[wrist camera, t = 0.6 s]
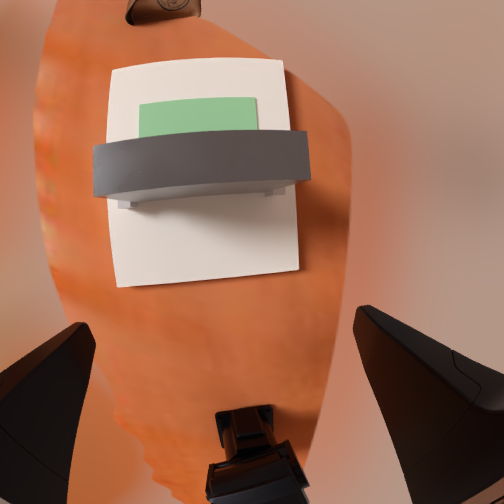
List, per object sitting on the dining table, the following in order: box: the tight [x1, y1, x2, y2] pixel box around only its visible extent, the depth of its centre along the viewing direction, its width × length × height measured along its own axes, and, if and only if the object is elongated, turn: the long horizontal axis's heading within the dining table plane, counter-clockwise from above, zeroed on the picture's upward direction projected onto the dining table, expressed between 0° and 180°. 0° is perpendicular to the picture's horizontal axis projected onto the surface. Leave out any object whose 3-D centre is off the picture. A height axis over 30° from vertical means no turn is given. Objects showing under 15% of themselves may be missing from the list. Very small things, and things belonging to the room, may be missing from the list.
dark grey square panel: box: [93, 130, 311, 203], centre depth 16 cm, size 2×10×10 cm, turn 94°
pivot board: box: [106, 58, 299, 287], centre depth 21 cm, size 20×16×4 cm
